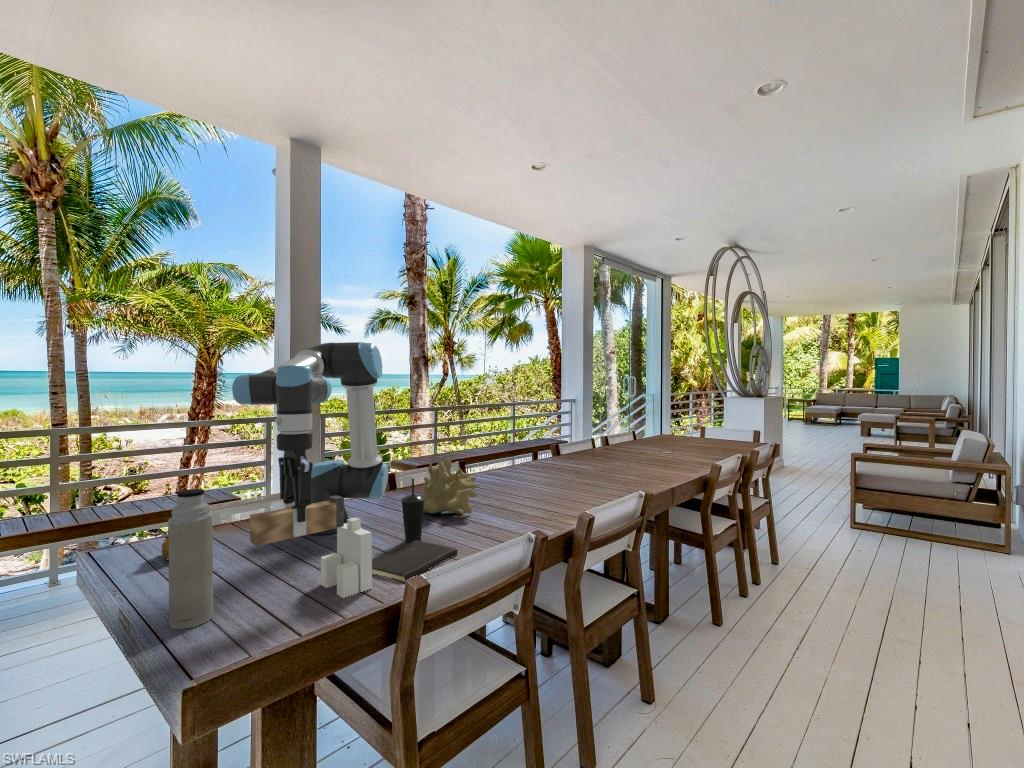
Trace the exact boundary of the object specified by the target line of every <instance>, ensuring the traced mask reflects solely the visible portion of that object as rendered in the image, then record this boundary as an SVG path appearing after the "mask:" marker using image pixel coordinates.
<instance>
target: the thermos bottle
mask: <svg viewBox="0 0 1024 768" xmlns="http://www.w3.org/2000/svg"><path fill="white" fill-rule="evenodd" d="M176 494H177V495H176V496H177V498H176V505H175V506H173V507H172V509H171V513H170V514H171V515H172V516H171V517H170V518H168V521H167V522H168V524H167V525H168V527H167V531H168V533H167V534H168V535H167V537H168V548H169V561H168V607H169V608H168V611H169V612H168V613H169V615H168V616H169V617H168V619H169V623H168V625H170V626H169V627H170V628H171V629H173V628H174V629H173V630H186V629H185V628H189V629H191V628H190V627H193V628H195V627H194V626H197V625H200V624H202V625H204V624H203V623H205V622H207V621H208V622H210V621H211V620H212V619H213V618H214V581H213V580H214V577H213V575H214V543H213V541H214V538H213V536H214V533H213V532H214V531H213V529H214V528H213V524H214V523H213V522H214V521H213V513H212V512H210V508H211V507H210V505H209V503H207V502H205V496H204V494H205V489H202V488H190V489H184V490H180V491H177V493H176ZM212 617H213V618H212ZM211 618H212V619H211ZM210 619H211V620H210ZM209 620H210V621H209ZM208 622H207V623H208ZM205 624H206V623H205ZM200 626H201V625H200ZM197 627H198V626H197Z"/></svg>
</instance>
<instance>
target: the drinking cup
mask: <svg viewBox="0 0 1024 768" xmlns="http://www.w3.org/2000/svg"><path fill="white" fill-rule="evenodd" d="M424 501H425V497H423V496H422V495H420V494H417V493H415V478H411V494H408V495H406V496H403V497H401V498H400V502H401V507H402V519H403V527H404V528H403V529H404V538H405V539H404V540H405V543H406V544H408V543H410V542H412V541H415V540H417V541H422V531H423V520H424V512H423V510H424Z"/></svg>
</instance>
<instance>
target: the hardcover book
mask: <svg viewBox="0 0 1024 768" xmlns="http://www.w3.org/2000/svg"><path fill="white" fill-rule="evenodd" d="M458 552H459V551H458V549H457V548H456V547H451V546H447V545H441V544H436V543H431V542H427V541H422V540H421V541H417V540H415V541H412V542H410V543H406V544H404V545H401V546H399V547H397V548H394V549H393V550H390V551H388V552H386V553H383V554H381V555H379V556H376V557H375V558H372V573H373V574H372V575H375V574H378V575H377V576H379V575H382V576H381V577H383V576H386V577H385V578H387V577H390V578H389V579H391V578H395V579H400V580H404V581H406V580H407V579H409V578H411V577H413V576H416V575H419V574H421V573H422V574H424V573H426V572H428V571H429V570H428V569H429V568H431V567H433V568H435V567H436V566H435V565H437V564H439V563H440V562H442V561H444V560H446V559H448V558H450V557H451V556H454V555H456V554H457V553H458ZM458 554H459V553H458ZM456 556H457V555H456ZM454 557H455V556H454ZM450 559H451V558H450ZM448 560H449V559H448ZM446 561H447V560H446ZM439 565H440V564H439ZM434 566H435V567H434ZM437 566H438V565H437ZM433 568H431V569H430V570H432V569H433ZM425 571H426V572H425ZM423 572H424V573H423ZM422 574H421V575H422ZM419 576H420V575H419ZM395 579H394V580H395Z"/></svg>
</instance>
